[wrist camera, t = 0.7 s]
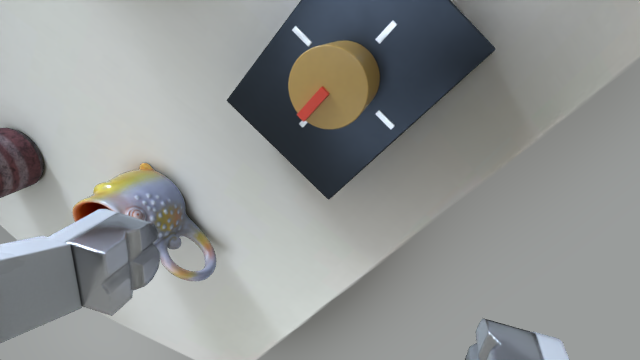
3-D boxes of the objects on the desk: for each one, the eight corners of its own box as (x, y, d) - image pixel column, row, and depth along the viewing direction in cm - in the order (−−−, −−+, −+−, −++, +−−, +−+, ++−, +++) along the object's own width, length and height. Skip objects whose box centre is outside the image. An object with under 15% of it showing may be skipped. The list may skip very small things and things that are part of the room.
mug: (117, 198, 37) (56, 232, 31) (141, 148, 34) (78, 175, 28) (213, 275, 38) (171, 323, 32) (246, 232, 34) (205, 277, 28)
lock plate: (375, -76, 23) (365, -89, 20) (490, 45, 23) (496, 49, 21) (245, 93, 29) (224, 101, 26) (338, 183, 30) (327, 201, 27)
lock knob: (342, 23, 22) (322, 25, 19) (395, 77, 23) (385, 89, 19) (296, 78, 24) (270, 90, 21) (345, 127, 25) (328, 147, 21)
